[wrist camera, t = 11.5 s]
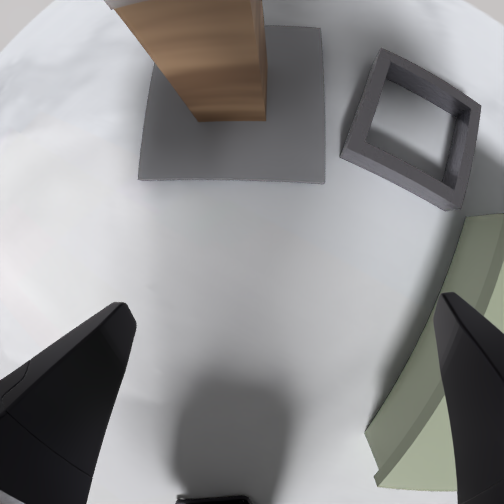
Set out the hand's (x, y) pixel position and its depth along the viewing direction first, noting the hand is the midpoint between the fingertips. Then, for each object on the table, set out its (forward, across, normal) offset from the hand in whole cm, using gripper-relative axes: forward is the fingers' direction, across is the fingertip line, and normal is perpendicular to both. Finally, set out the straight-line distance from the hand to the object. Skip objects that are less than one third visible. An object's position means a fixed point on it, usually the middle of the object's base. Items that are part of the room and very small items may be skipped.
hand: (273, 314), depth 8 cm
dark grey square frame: (+14, -8, -2) cm, 16 cm away
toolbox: (+7, -12, +12) cm, 18 cm away
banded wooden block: (+13, +3, -5) cm, 14 cm away
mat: (+14, +3, -5) cm, 15 cm away
